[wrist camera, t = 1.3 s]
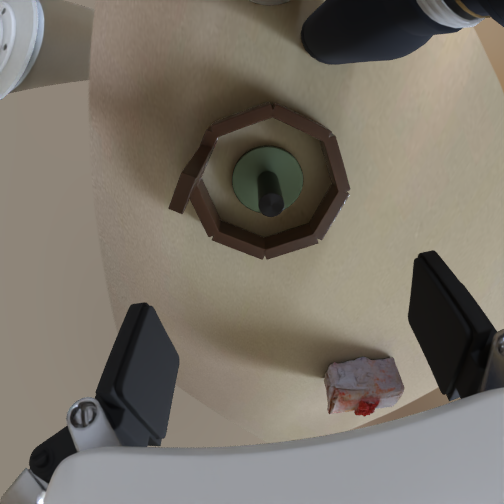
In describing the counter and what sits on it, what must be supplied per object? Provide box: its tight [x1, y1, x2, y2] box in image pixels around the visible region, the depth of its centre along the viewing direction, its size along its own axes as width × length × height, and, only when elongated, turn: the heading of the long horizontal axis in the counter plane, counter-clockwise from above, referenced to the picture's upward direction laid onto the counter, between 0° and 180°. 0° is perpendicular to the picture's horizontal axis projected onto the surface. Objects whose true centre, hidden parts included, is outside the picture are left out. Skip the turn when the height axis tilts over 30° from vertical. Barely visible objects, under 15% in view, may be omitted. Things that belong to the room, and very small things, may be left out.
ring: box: [169, 102, 350, 259], centre depth 31 cm, size 17×17×13 cm
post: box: [232, 146, 303, 217], centre depth 33 cm, size 8×8×8 cm
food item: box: [324, 357, 404, 416], centre depth 50 cm, size 14×8×10 cm, turn 91°
